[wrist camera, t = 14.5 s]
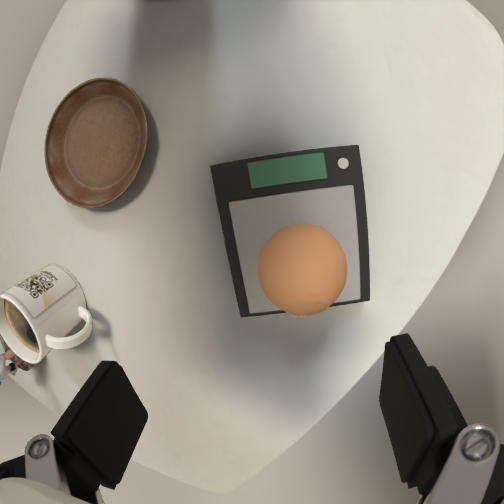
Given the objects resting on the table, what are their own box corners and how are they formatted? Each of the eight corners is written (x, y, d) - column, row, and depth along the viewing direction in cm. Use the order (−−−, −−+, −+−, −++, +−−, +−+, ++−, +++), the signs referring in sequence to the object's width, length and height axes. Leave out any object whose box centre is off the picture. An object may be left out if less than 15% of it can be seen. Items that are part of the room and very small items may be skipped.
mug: (57, 247, 34) (2, 276, 23) (110, 314, 36) (66, 360, 25) (32, 286, 36) (-13, 317, 26) (79, 343, 39) (41, 385, 28)
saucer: (104, 60, 26) (92, 55, 23) (183, 131, 28) (174, 129, 25) (42, 154, 30) (29, 155, 27) (106, 228, 32) (94, 234, 30)
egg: (312, 199, 26) (326, 218, 18) (350, 264, 28) (375, 305, 19) (245, 242, 28) (231, 277, 20) (287, 301, 29) (288, 352, 21)
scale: (215, 165, 29) (208, 166, 26) (352, 145, 27) (360, 144, 24) (243, 306, 34) (240, 320, 31) (364, 290, 32) (371, 303, 29)
